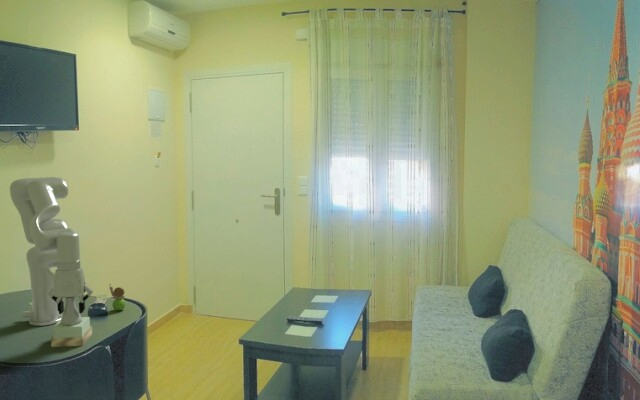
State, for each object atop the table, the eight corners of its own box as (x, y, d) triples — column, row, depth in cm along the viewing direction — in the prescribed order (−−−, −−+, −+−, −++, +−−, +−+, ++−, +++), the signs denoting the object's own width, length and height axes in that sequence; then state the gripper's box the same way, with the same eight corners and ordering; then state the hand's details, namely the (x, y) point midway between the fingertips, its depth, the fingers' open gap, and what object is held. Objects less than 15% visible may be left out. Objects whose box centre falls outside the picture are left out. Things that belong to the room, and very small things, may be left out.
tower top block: (53, 338, 190) (52, 327, 189) (62, 327, 200) (61, 317, 199) (82, 337, 191) (81, 326, 191) (90, 326, 201) (89, 316, 201)
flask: (86, 320, 197) (85, 294, 196) (71, 327, 190) (70, 300, 189) (71, 317, 199) (69, 292, 198) (56, 324, 192) (54, 298, 191)
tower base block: (51, 348, 190) (50, 338, 190) (62, 337, 201) (61, 327, 201) (83, 347, 192) (82, 337, 191) (92, 336, 202) (91, 326, 202)
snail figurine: (112, 308, 231) (111, 282, 230) (127, 308, 232) (126, 281, 230) (108, 312, 226) (107, 285, 224) (123, 312, 226) (122, 285, 225)
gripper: (40, 268, 187) (43, 316, 189) (90, 267, 189) (93, 315, 192) (48, 263, 194) (50, 309, 197) (96, 262, 197) (98, 308, 199)
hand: (71, 312), depth 194 cm, fingers open, 6 cm apart
